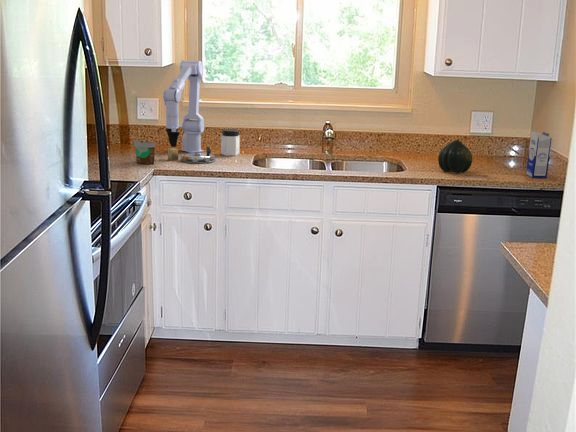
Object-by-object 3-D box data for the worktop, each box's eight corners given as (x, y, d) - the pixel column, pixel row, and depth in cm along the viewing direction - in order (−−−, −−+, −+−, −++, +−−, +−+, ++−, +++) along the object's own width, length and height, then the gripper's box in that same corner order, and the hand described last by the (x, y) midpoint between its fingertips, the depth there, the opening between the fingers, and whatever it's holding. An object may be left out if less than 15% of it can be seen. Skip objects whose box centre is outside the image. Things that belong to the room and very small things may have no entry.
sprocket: (184, 155, 312) (184, 143, 310) (216, 156, 311) (216, 144, 310) (178, 161, 297) (178, 148, 296) (211, 162, 297) (211, 150, 295)
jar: (242, 155, 321) (242, 130, 318) (228, 156, 316) (228, 131, 313) (232, 152, 328) (232, 128, 325) (218, 153, 323) (218, 129, 320)
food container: (128, 162, 296) (127, 140, 293) (139, 160, 300) (139, 138, 297) (144, 166, 288) (143, 143, 285) (156, 164, 292) (155, 142, 289)
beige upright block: (167, 159, 305) (167, 148, 303) (174, 158, 307) (174, 147, 305) (171, 160, 302) (171, 149, 301) (178, 160, 304) (178, 148, 303)
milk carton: (525, 174, 297) (531, 130, 292) (540, 174, 297) (546, 130, 292) (532, 178, 290) (538, 132, 285) (546, 178, 290) (553, 133, 285)
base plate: (174, 159, 305) (173, 158, 305) (202, 156, 315) (202, 155, 315) (192, 165, 294) (192, 164, 294) (222, 161, 304) (222, 160, 304)
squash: (451, 164, 285) (469, 137, 288) (427, 159, 298) (444, 134, 300) (466, 183, 293) (484, 157, 296) (442, 178, 306) (459, 153, 308)
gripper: (182, 117, 293) (183, 148, 297) (179, 113, 307) (179, 142, 310) (166, 117, 291) (167, 148, 295) (164, 113, 305) (164, 142, 309)
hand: (172, 145), depth 303 cm, fingers open, 7 cm apart
